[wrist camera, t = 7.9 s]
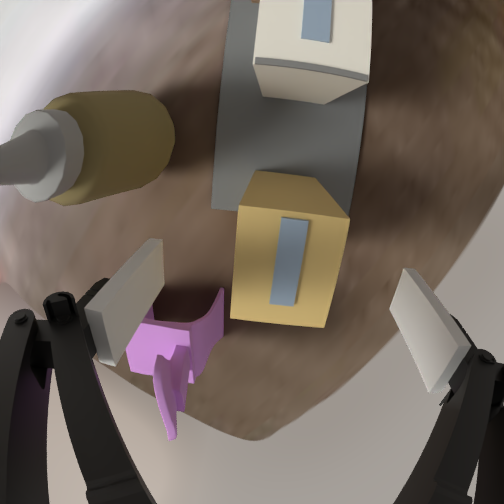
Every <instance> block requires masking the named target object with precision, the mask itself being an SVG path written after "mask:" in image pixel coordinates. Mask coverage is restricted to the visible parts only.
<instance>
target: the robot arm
mask: <svg viewBox="0 0 504 504" xmlns="http://www.w3.org/2000/svg"><path fill="white" fill-rule="evenodd" d="M164 285H165V283H164V264H163V240H162V239H153V238H149V239H148V240H147V241H146V242H145V243H144V244H143V245H142V246H141V247H140V248H139V249H138V250H137V251H136V252H135V253H134V254H133V255H132V256H131V257H130V258H129V259H128V260H127V262H126V263H125V264H124V265H123V266H122V267H121V268H120V269H119V270H118V271H117V272H116V273H115V274H114V275H113V276H112V278H111V279H108V278H103V279H101V280H100V281H98V282H96V283H95V284H94V285H93V286H92V287H91V288H90V290H88V291H87V292H86V293H85V295H84V296H83V297H82V298H81V299H80V300H79V301H78V302H77V303H76V302H75V298H74V296H73V295H72V294H71V293H69V292H57V293H54V294H51V295H50V296H48V297H47V298H46V299H45V300H44V302H43V307H44V310H45V313H46V316H47V319H48V320H36V318H35V315H34V313H33V311H31V310H28V309H21V310H18V311H15V312H14V313H13V314H12V315H10V317H9V319H8V321H7V323H6V326H5V328H4V331H3V333H2V336H1V339H0V504H49V494H48V481H47V417H48V404H49V392H50V383H51V375H52V369H55V375H56V381H57V386H58V391H59V396H60V400H61V404H62V409H63V413H64V417H65V421H66V425H67V429H68V432H69V436H70V439H71V442H72V445H73V449H74V452H75V455H76V458H77V461H78V464H79V467H80V470H81V472H82V475H83V477H84V480H85V482H86V486H87V491H86V498H87V500H88V503H89V504H157V503H156V502H155V500H154V498H153V496H152V495H151V493H150V492H149V490H148V488H147V486H146V484H145V482H144V481H143V479H142V477H141V475H140V473H139V471H138V470H137V468H136V466H135V464H134V462H133V460H132V458H131V456H130V454H129V452H128V449H127V447H126V445H125V443H124V441H123V439H122V437H121V434H120V432H119V430H118V427H117V425H116V423H115V420H114V418H113V415H112V413H111V410H110V408H109V405H108V403H107V400H106V397H105V395H104V392H103V389H102V386H101V384H100V381H99V378H98V375H97V372H96V369H95V366H94V363H93V360H92V358H93V357H94V355H95V354H96V352H97V355H98V358H99V361H100V362H101V363H105V364H108V365H112V366H115V367H116V365H117V363H118V361H119V360H120V358H121V356H122V354H123V353H124V351H125V349H126V347H127V346H128V344H129V342H130V341H131V339H132V337H133V335H134V334H135V332H136V330H137V329H138V327H139V325H140V324H141V322H142V320H143V319H144V317H145V315H146V314H147V312H148V310H149V309H150V307H151V305H152V304H153V302H154V301H155V299H156V297H157V296H158V294H159V293H160V291H161V289H162V288H163V286H164ZM389 309H390V311H391V313H392V315H393V317H394V319H395V321H396V323H397V325H398V327H399V329H400V331H401V333H402V335H403V337H404V339H405V341H406V344H407V346H408V348H409V350H410V352H411V354H412V356H413V359H414V361H415V363H416V365H417V367H418V369H419V372H420V374H421V376H422V379H423V381H424V383H425V386H426V388H427V391H428V393H438V392H442V391H443V389H444V388H445V386H446V385H447V384H448V383H449V385H450V387H451V389H450V391H449V392H448V393H447V395H446V396H445V397H444V399H443V400H442V401H441V403H440V404H439V405H440V406H441V405H442V404H443V403H444V404H443V406H442V409H441V412H440V414H439V416H438V419H437V421H436V424H435V426H434V428H433V431H432V433H431V435H430V437H429V440H428V442H427V444H426V446H425V448H424V450H423V452H422V454H421V456H420V458H419V460H418V462H417V464H416V466H415V468H414V470H413V472H412V474H411V475H410V477H409V479H408V481H407V482H406V484H405V486H404V487H403V489H402V491H401V492H400V494H399V495H398V497H397V499H396V500H395V502H394V503H393V504H472V497H470V496H467V492H468V489H469V486H470V483H471V480H472V477H473V475H474V472H475V468H476V466H477V462H478V459H479V463H478V474H477V484H476V492H475V498H474V504H504V406H503V403H504V364H502V363H497V362H496V360H495V358H494V356H493V355H492V354H491V353H489V352H488V351H486V350H483V349H477V347H476V346H475V344H474V343H473V341H472V340H471V339H470V337H469V335H468V334H467V333H466V331H465V330H464V328H462V325H461V324H460V323H459V321H458V320H457V319H456V318H455V317H453V316H452V315H451V314H449V313H448V311H447V310H446V309H445V307H444V306H443V304H442V303H441V302H440V300H439V299H438V298H437V296H436V295H435V294H434V292H433V291H432V290H431V289H430V287H429V286H428V285H427V283H426V282H425V281H424V280H423V278H422V277H421V276H420V275H419V273H418V272H417V271H416V270H415V269H412V268H403V271H402V274H401V277H400V280H399V283H398V286H397V289H396V292H395V295H394V297H393V300H392V303H391V306H390V308H389Z"/></svg>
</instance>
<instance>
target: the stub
mask: <svg viewBox="0 0 504 504" xmlns="http://www.w3.org/2000/svg"><path fill="white" fill-rule="evenodd" d="M349 223H350V218H349V217H348V216H347V215H346V213H345V212H344V211H343V210H342V209H341V207H340V206H339V205H338V204H337V203H336V201H335V200H334V199H333V198H332V197H331V195H330V194H329V193H328V192H327V191H326V190H325V188H324V187H323V186H322V185H321V184H320V183H319V182H318V180H317V179H316V178H314V177H306V176H299V175H292V174H284V173H275V172H267V171H257V170H255V172H254V174H253V176H252V178H251V180H250V182H249V184H248V187H247V189H246V191H245V193H244V195H243V197H242V199H241V202H240V204H239V208H238V220H237V232H236V245H235V258H234V271H233V284H232V298H231V312H230V318H232V319H240V320H248V321H257V322H266V323H276V324H286V325H296V326H308V327H320V328H324V326H325V323H326V319H327V316H328V312H329V308H330V305H331V301H332V297H333V293H334V289H335V285H336V281H337V277H338V273H339V269H340V265H341V260H342V256H343V252H344V247H345V243H346V238H347V233H348V228H349Z"/></svg>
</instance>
